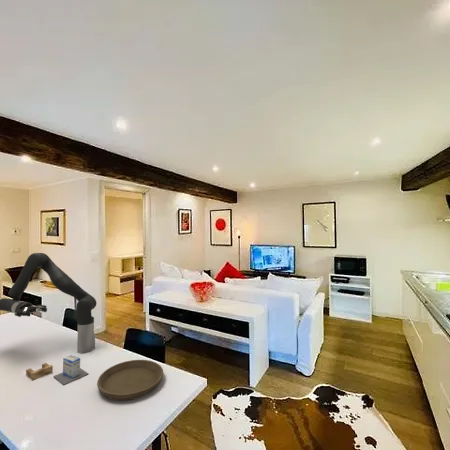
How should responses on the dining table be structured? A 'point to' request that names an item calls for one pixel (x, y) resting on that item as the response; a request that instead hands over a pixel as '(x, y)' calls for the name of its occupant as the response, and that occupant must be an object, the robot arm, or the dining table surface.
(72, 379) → the mat
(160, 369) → the plant saucer
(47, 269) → the robot arm
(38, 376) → the bracket
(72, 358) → the medicine box
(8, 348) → the dining table surface
